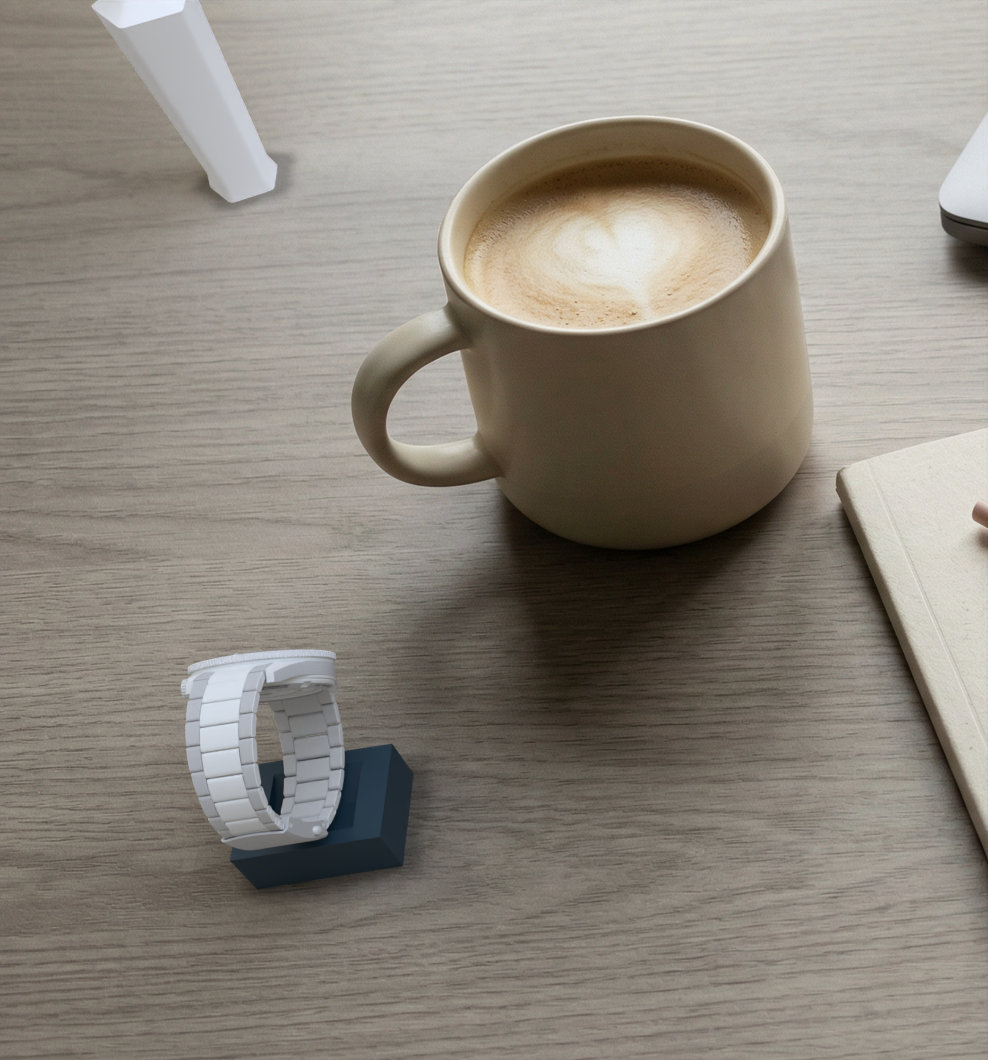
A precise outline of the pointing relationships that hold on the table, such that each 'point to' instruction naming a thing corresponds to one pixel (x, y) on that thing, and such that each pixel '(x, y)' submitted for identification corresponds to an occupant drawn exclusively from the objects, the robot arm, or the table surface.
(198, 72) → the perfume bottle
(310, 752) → the watch
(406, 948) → the table surface
